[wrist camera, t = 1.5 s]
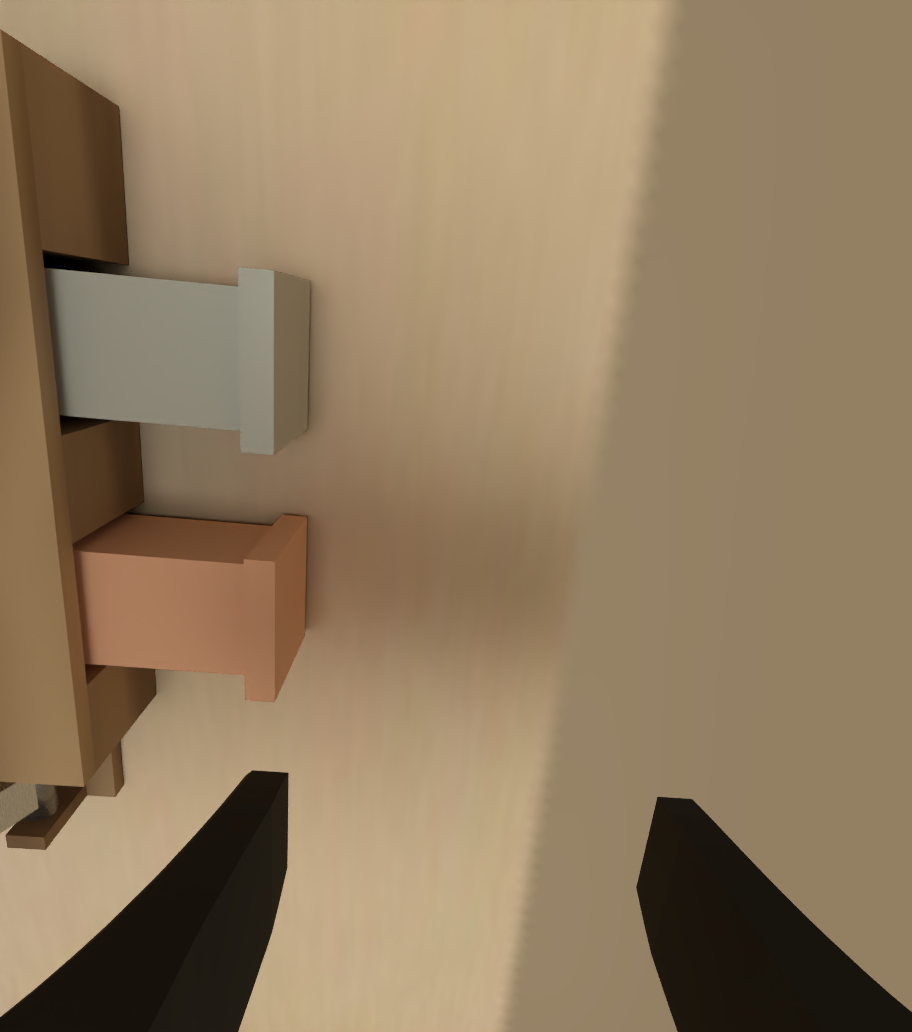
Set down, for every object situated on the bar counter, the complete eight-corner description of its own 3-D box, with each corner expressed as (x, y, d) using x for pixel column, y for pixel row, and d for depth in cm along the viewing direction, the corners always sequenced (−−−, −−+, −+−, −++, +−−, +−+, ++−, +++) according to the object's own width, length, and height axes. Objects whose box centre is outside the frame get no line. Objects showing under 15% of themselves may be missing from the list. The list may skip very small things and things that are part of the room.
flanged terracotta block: (306, 516, 19) (275, 561, 16) (304, 635, 21) (274, 701, 17) (90, 498, 19) (7, 540, 16) (101, 620, 20) (27, 684, 17)
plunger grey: (310, 281, 17) (273, 270, 14) (307, 429, 19) (273, 455, 15) (67, 257, 17) (-35, 240, 13) (80, 409, 18) (-10, 430, 15)
